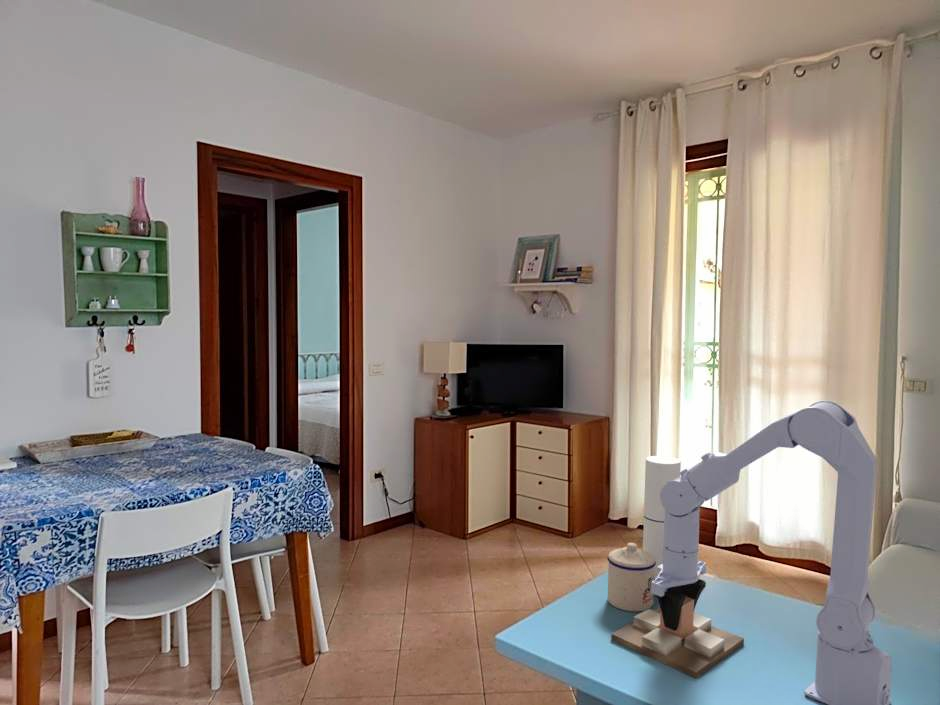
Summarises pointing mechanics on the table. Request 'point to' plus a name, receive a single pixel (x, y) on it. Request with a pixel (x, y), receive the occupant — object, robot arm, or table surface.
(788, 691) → the table surface
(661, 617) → the terracotta block
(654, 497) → the cylindrical container
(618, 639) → the walnut board
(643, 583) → the teacup with lid
